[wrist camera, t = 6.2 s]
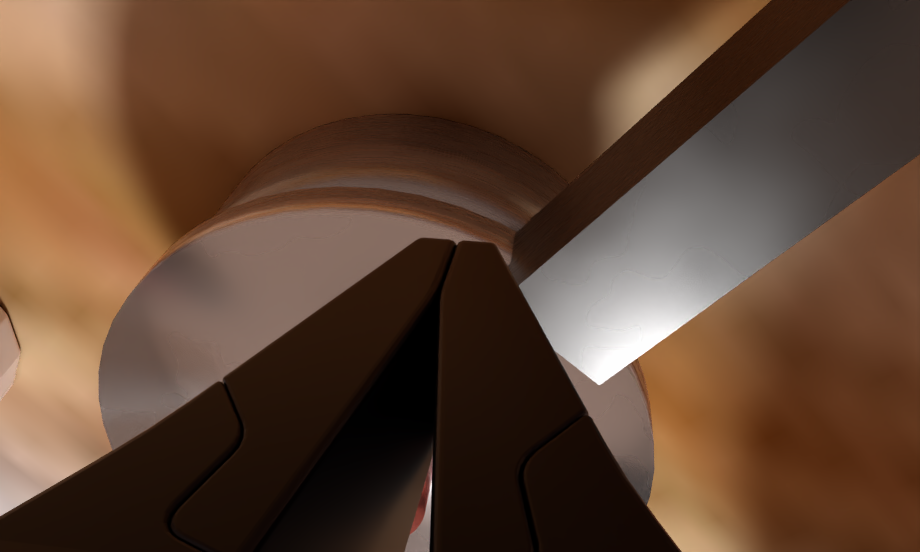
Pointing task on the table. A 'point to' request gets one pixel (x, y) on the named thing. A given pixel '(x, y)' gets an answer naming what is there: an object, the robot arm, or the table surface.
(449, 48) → the table surface
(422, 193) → the pot
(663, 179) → the lid
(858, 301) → the table surface
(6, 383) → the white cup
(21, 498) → the table surface
